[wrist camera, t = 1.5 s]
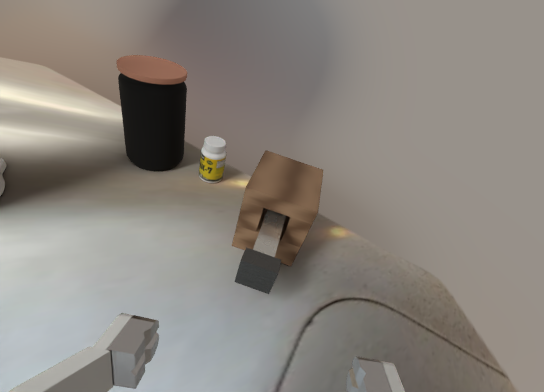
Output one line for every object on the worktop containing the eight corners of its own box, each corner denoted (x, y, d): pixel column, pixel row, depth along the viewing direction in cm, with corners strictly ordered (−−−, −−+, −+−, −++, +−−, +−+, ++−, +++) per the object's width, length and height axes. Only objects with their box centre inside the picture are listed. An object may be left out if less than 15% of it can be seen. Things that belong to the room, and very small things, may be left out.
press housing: (231, 245, 42) (246, 187, 35) (251, 204, 51) (265, 150, 43) (290, 266, 42) (317, 212, 35) (300, 221, 51) (323, 170, 43)
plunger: (234, 281, 32) (240, 260, 30) (259, 218, 42) (266, 197, 39) (268, 293, 32) (278, 273, 29) (286, 227, 42) (294, 207, 39)
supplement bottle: (193, 174, 54) (196, 137, 48) (211, 167, 57) (215, 132, 52) (210, 187, 52) (214, 150, 47) (227, 178, 55) (233, 143, 50)
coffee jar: (189, 151, 59) (195, 67, 48) (173, 178, 51) (175, 84, 40) (141, 139, 58) (135, 50, 47) (116, 165, 50) (101, 64, 39)
